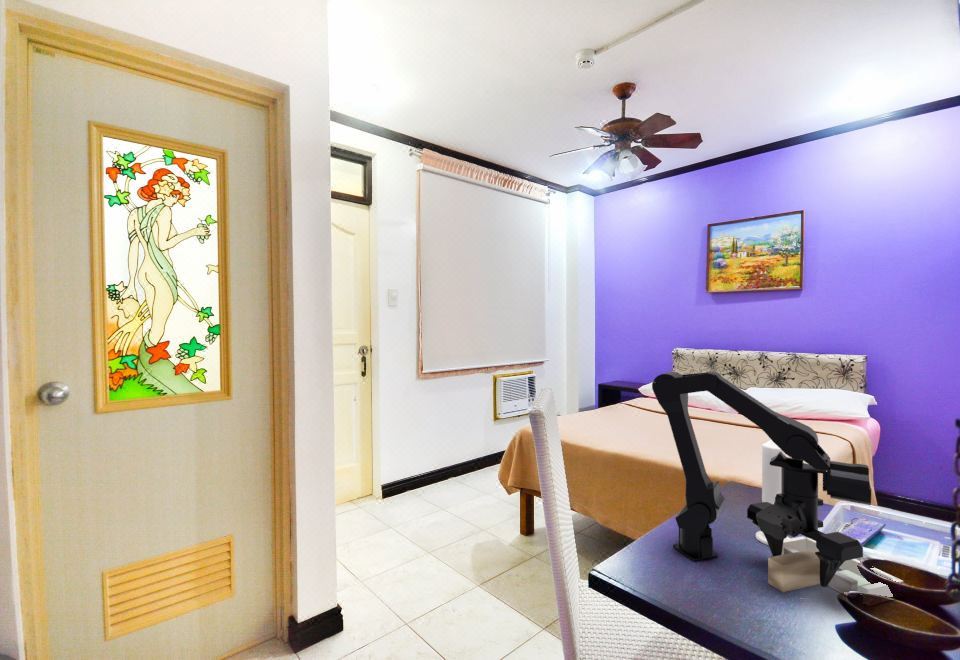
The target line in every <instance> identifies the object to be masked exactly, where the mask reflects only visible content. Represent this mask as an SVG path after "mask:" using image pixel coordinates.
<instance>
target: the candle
mask: <svg viewBox="0 0 960 660" xmlns="http://www.w3.org/2000/svg"><path fill="white" fill-rule="evenodd" d="M779 452H782V453H783V455H785V456H786V457H787V454H785V453H784V452H783V451H782V450H781V449H780V448H779V447H778V446H777V445H776V444H775V443H774V442H773V441H772V440H771V439H770V438H769V440H768V441H766V442H764V443H763V444H761V479H762V480H761V503H762V502H768V503H771V504H773V505H774V503H775V497H776V494H780V493H781V467H778V466H772V465H770V460H771V458H773V457H775V456H776V455H778V453H779ZM755 538H756V540H757V541H758V542H760V543H762V544H764V545H766V546H769V545H768V542H767V540H766V537H765V535H764V533H763V532H762V531H761V530H758V531H756V533H755ZM790 538H791V537H789V535H788V536H787V537H786V538H785V539H790ZM785 539H784V540H785Z"/></svg>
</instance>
